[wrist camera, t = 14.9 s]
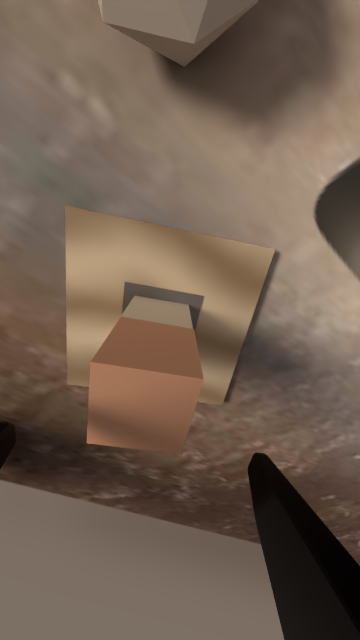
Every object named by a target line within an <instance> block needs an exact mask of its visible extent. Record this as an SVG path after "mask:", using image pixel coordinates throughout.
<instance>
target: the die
mask: <svg viewBox="0 0 360 640" xmlns="http://www.w3.org/2000/svg"><path fill="white" fill-rule="evenodd" d="M259 1H260V0H98V2H99V7H100V11H101V16H102V20H103V22H104V23H106V24H107V25H109V26H111V27H113V28H115V29H117V30H118V31H120V32H122V33H124V34H126V35H127V36H129V37H131V38H133V39H135V40H136V41H138V42H140V43H142V44H144V45H145V46H147V47H149V48H151V49H153V50H154V51H156V52H158V53H160V54H162V55H164V56H165V57H167V58H169V59H171V60H173V61H174V62H176V63H178V64H180V65H182V66H183V67H185V66H186V65H187V64H189V63H190V62H191V61H192V60H193V59H194V58H195V57H196V56H198V55H199V54H200V53H201V52H202V51H203V50H204V49H205V48H207V47H208V46H209V45H210V44H211V43H212V42H213V41H215V40H216V39H217V38H218V37H219V36H220V35H221V34H222V33H224V32H225V31H226V30H227V29H228V28H229V27H230V26H231V25H233V24H234V23H235V22H236V21H237V20H238V19H239V18H240V17H242V16H243V15H244V14H245V13H246V12H247V11H248V10H250V9H251V8H252V7H253V6H254V5H255V4H256V3H257V2H259Z"/></svg>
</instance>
